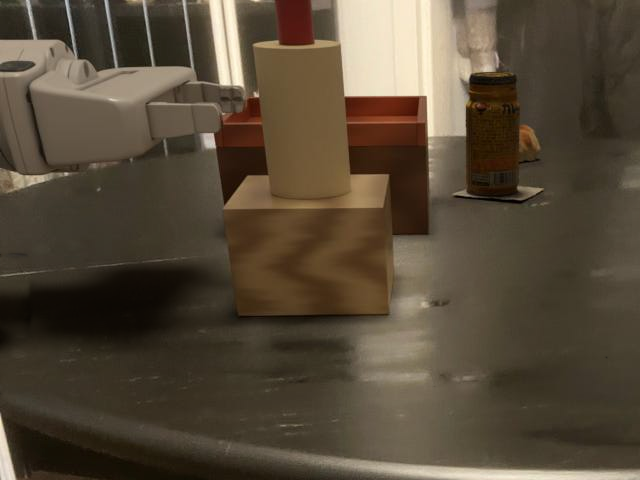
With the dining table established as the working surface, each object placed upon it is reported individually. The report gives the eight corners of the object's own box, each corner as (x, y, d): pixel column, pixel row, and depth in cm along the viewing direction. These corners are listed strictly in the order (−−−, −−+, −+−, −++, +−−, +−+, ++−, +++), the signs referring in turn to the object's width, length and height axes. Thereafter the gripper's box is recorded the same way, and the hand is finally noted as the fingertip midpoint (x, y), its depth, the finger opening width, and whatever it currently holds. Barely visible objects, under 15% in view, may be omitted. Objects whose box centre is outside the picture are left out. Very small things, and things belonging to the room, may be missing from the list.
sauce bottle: (264, 199, 75) (240, -3, 67) (276, 182, 80) (254, -8, 72) (348, 199, 75) (333, -3, 67) (354, 181, 80) (340, -8, 73)
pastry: (491, 168, 124) (491, 135, 122) (457, 161, 128) (456, 129, 126) (544, 159, 129) (545, 126, 127) (509, 152, 133) (510, 121, 131)
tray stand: (228, 236, 97) (212, 124, 91) (255, 195, 112) (242, 96, 106) (428, 233, 98) (425, 122, 92) (429, 194, 112) (426, 95, 107)
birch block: (237, 316, 77) (221, 208, 73) (259, 272, 87) (247, 175, 82) (389, 314, 78) (383, 207, 73) (394, 271, 87) (389, 174, 83)
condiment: (478, 184, 117) (477, 68, 110) (544, 190, 114) (548, 72, 107) (452, 196, 111) (450, 76, 104) (521, 203, 109) (523, 80, 101)
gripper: (101, 131, 84) (262, 131, 84) (11, 181, 67) (212, 180, 68) (83, 46, 80) (252, 46, 80) (-16, 76, 64) (196, 76, 64)
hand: (233, 108), depth 74 cm, fingers open, 8 cm apart
